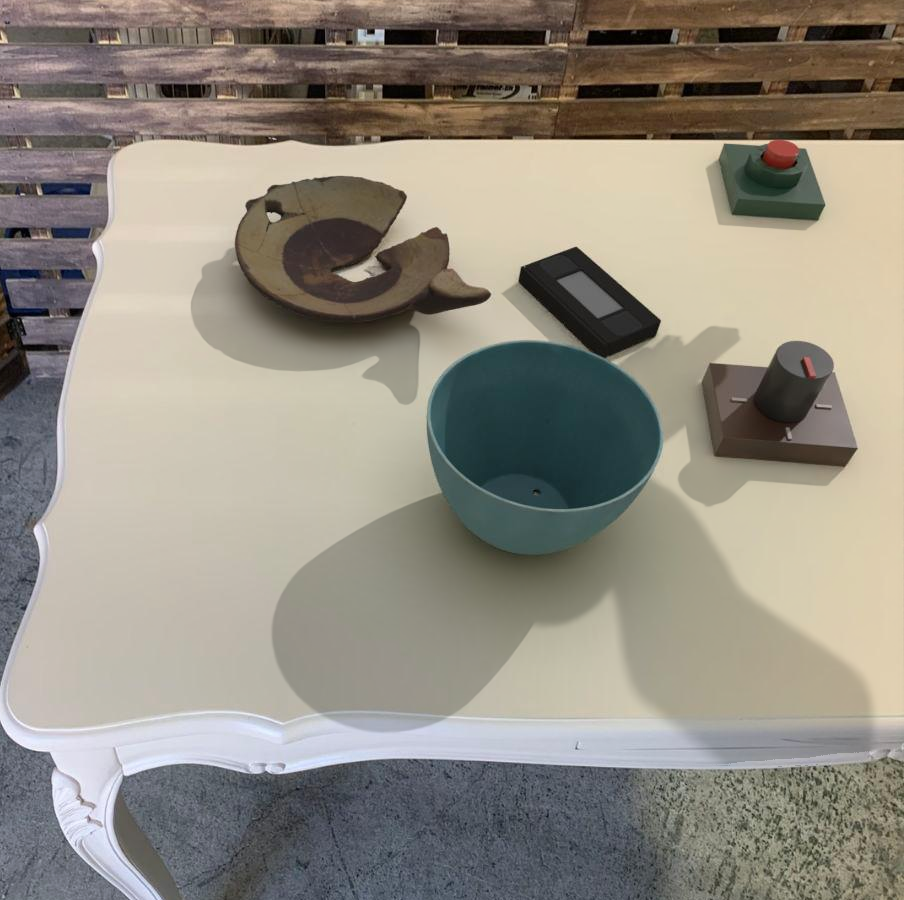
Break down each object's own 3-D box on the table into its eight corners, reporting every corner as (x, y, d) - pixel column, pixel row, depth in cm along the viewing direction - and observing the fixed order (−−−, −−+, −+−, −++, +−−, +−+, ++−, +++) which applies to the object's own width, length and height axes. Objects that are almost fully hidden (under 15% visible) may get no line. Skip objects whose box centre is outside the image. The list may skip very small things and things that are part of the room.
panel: (824, 390, 89) (835, 370, 87) (846, 466, 83) (859, 447, 81) (701, 381, 90) (710, 361, 87) (714, 456, 84) (723, 436, 82)
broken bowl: (376, 192, 108) (377, 132, 102) (517, 340, 93) (529, 279, 87) (204, 246, 102) (194, 184, 96) (325, 414, 86) (323, 354, 80)
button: (790, 154, 108) (796, 140, 106) (795, 171, 106) (801, 157, 104) (759, 152, 108) (765, 138, 106) (764, 169, 106) (770, 155, 104)
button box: (799, 164, 113) (812, 134, 110) (817, 221, 106) (832, 190, 103) (718, 159, 113) (729, 129, 110) (731, 215, 106) (743, 184, 103)
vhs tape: (572, 261, 101) (576, 246, 99) (656, 336, 94) (662, 321, 92) (518, 281, 99) (520, 266, 97) (599, 360, 91) (604, 345, 90)
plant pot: (564, 419, 86) (591, 318, 76) (664, 566, 76) (711, 471, 66) (387, 468, 82) (392, 368, 73) (469, 629, 72) (487, 539, 62)
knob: (748, 383, 86) (771, 336, 81) (801, 385, 86) (827, 338, 81) (760, 421, 83) (784, 375, 78) (814, 423, 83) (842, 377, 78)
